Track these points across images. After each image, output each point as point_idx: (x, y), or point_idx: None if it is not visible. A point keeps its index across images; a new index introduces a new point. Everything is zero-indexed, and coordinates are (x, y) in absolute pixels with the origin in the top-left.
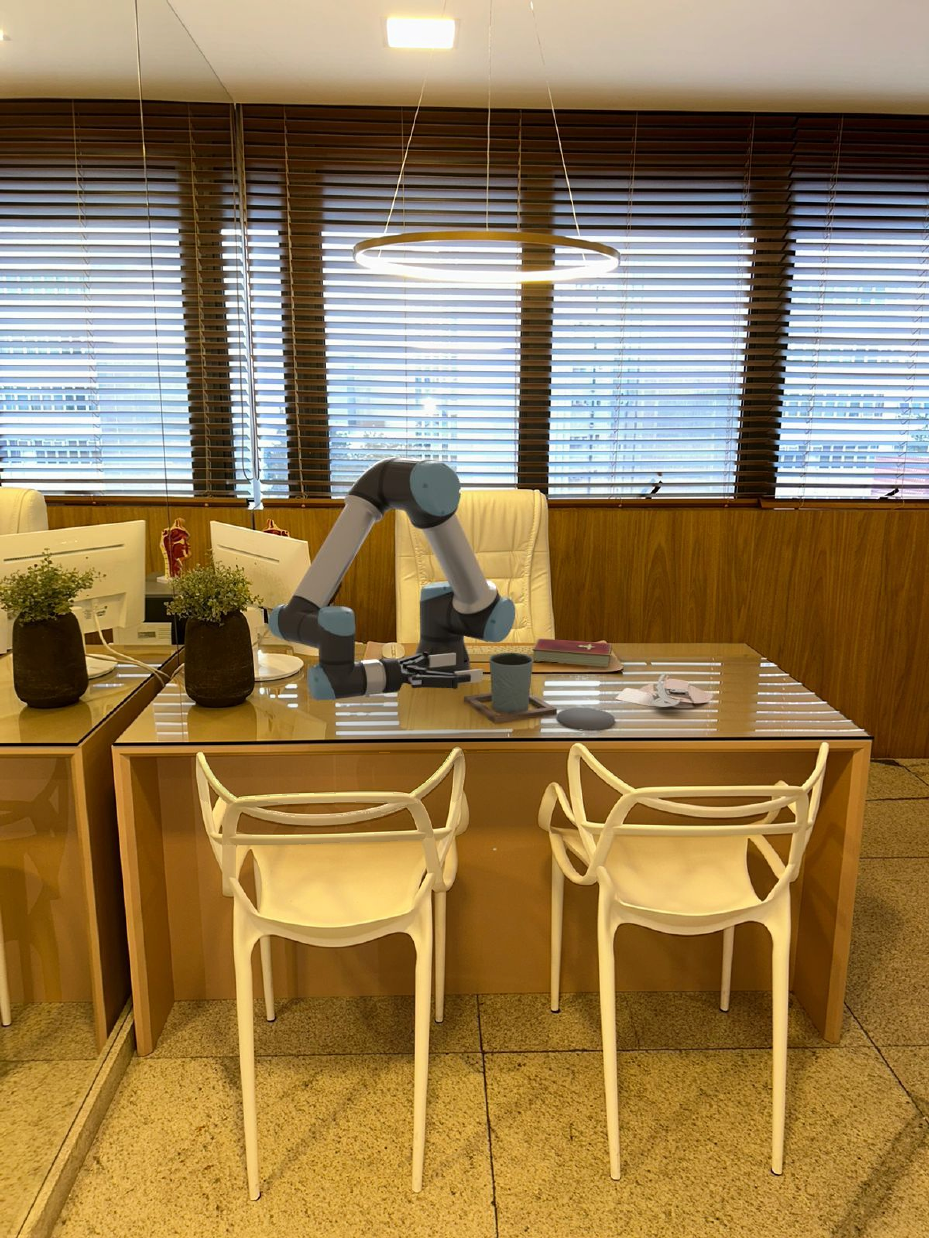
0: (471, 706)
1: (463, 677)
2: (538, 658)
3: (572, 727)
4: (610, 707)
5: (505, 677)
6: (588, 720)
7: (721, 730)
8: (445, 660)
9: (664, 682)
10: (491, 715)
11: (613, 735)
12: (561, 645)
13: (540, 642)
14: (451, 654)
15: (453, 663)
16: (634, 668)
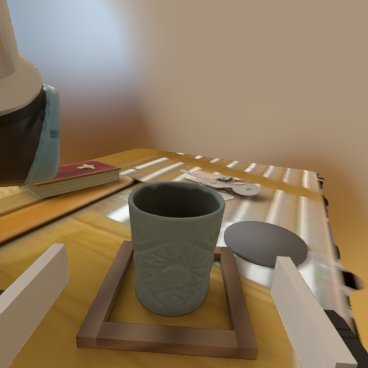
0: (121, 349)
1: (362, 352)
2: (46, 193)
3: (297, 264)
4: (226, 214)
5: (208, 240)
6: (276, 241)
7: (306, 196)
8: (43, 293)
9: (197, 175)
10: (234, 347)
11: (325, 245)
12: (59, 172)
13: None
14: (55, 256)
15: (65, 282)
16: (137, 174)
